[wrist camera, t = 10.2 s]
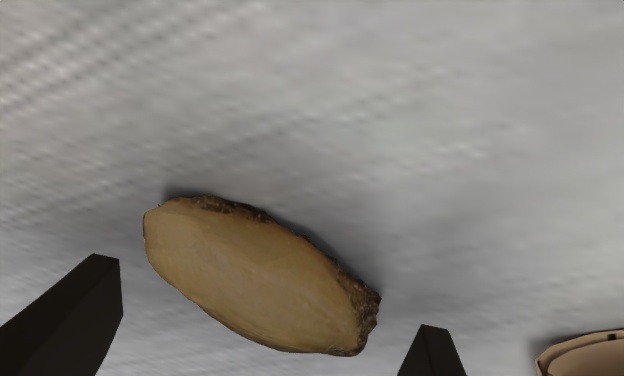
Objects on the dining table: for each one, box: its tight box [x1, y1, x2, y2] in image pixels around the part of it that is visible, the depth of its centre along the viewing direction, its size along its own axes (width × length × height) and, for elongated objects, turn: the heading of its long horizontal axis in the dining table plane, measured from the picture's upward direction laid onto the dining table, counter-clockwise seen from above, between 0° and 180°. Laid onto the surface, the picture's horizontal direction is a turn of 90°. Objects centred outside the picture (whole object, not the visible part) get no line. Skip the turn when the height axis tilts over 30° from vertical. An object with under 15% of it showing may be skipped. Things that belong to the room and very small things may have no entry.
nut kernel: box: [143, 194, 382, 357], centre depth 13 cm, size 6×5×3 cm
